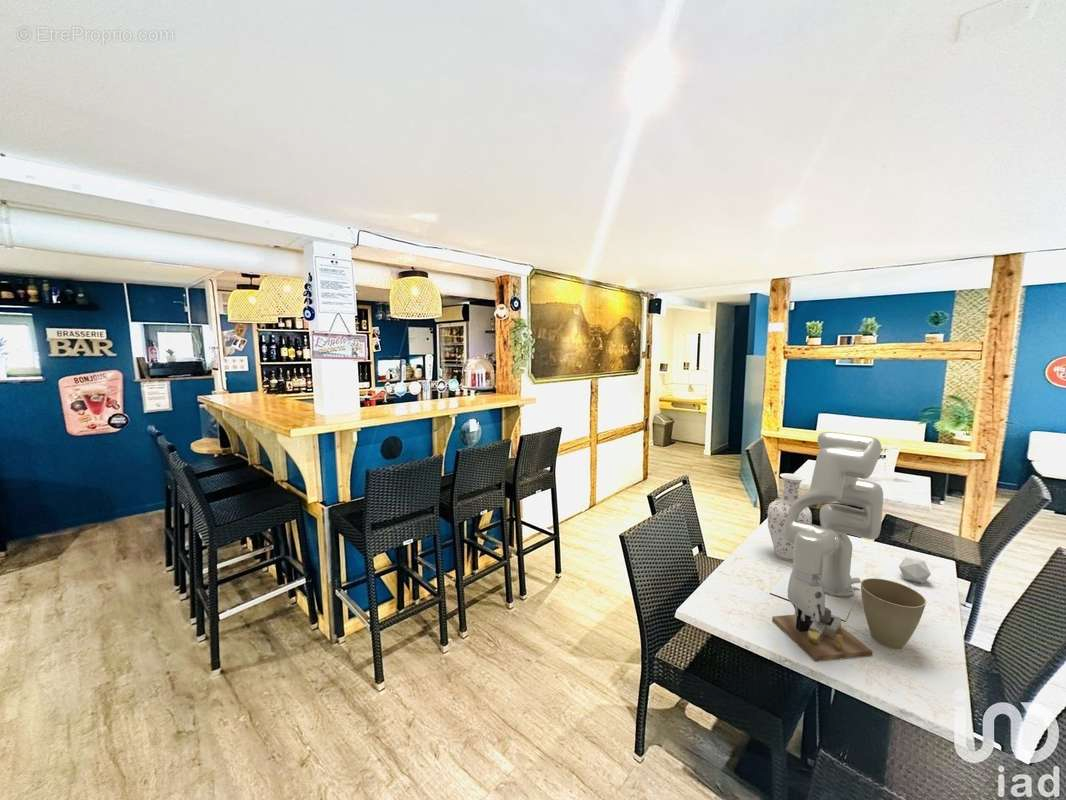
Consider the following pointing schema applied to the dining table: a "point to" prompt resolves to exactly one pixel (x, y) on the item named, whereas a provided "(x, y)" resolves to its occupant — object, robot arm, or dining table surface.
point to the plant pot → (891, 611)
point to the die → (914, 570)
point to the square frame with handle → (823, 630)
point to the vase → (785, 516)
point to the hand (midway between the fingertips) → (802, 629)
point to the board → (823, 640)
